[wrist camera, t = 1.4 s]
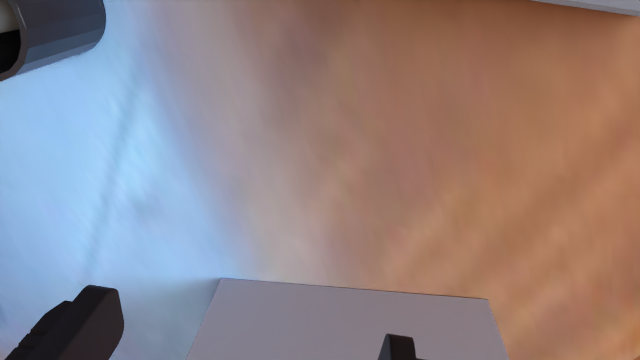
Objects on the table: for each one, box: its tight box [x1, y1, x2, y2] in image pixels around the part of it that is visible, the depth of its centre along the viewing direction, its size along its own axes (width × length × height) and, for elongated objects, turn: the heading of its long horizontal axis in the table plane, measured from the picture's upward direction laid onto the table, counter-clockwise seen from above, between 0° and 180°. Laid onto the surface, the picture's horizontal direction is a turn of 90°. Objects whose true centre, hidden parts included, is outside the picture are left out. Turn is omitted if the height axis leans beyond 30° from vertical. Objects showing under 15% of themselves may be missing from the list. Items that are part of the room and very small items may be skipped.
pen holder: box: [0, 0, 106, 81], centre depth 32 cm, size 9×9×10 cm
